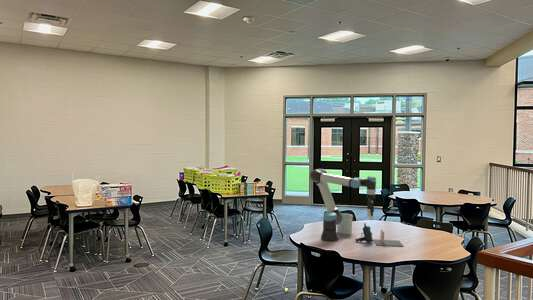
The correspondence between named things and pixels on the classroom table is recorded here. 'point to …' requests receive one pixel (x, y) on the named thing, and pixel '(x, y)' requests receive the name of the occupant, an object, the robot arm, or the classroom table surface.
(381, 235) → the tile
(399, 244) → the mat
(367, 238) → the gun
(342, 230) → the utensil holder
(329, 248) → the classroom table surface
